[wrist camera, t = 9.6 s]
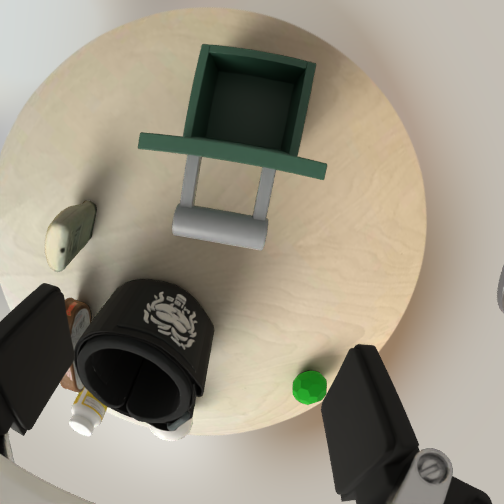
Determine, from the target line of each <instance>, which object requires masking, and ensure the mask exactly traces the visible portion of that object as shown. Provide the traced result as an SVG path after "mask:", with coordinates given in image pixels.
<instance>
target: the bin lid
mask: <svg viewBox="0 0 504 504" xmlns="http://www.w3.org/2000/svg"><path fill="white" fill-rule="evenodd" d="M138 149H145V150H154V151H163V152H171V153H179V154H187V161H186V167H185V173H184V180H183V186H182V193H181V200H180V203H179V204H178V205H177V207H176V210H175V213H174V217H173V224H172V232H173V235H176V236H182V237H188V238H193V239H199V240H205V241H210V242H216V243H221V244H227V245H233V246H238V247H244V248H250V249H255V250H263V248H264V245H265V240H266V236H267V230H268V219H267V218H266V216H267V212H268V207H269V202H270V197H271V192H272V187H273V182H274V177H275V173H276V170H280V171H285V172H289V173H294V174H299V175H303V176H308V177H312V178H316V179H320V180H324V178H325V173H326V169H327V164H326V163H322V162H318V161H314V160H310V159H305V158H301V157H297V156H292V155H288V154H283V153H278V152H273V151H268V150H263V149H258V148H253V147H247V146H241V145H236V144H230V143H223V142H217V141H210V140H203V139H196V138H189V137H180V136H172V135H163V134H153V133H140V137H139V143H138ZM202 157H207V158H214V159H220V160H226V161H232V162H238V163H244V164H249V165H255V166H260V167H262V171H261V176H260V181H259V187H258V192H257V197H256V202H255V207H254V212H253V216H251V215H246V214H240V213H234V212H229V211H223V210H217V209H212V208H206V207H200V206H194V203H195V196H196V190H197V183H198V177H199V171H200V165H201V159H202Z"/></svg>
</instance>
